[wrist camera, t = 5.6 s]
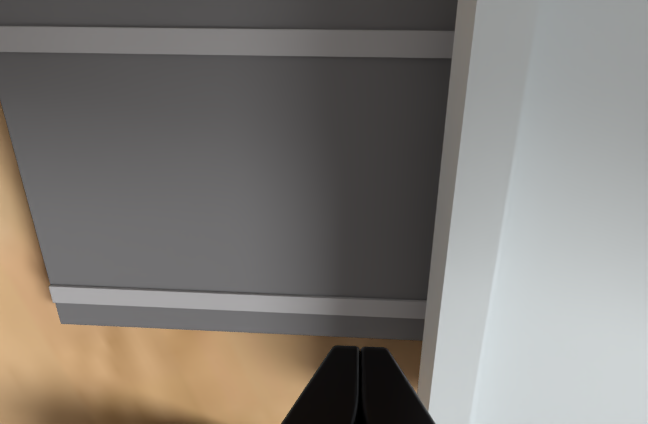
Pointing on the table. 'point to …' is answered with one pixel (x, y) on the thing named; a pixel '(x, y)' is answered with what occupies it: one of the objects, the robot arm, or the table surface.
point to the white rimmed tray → (542, 218)
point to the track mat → (232, 159)
